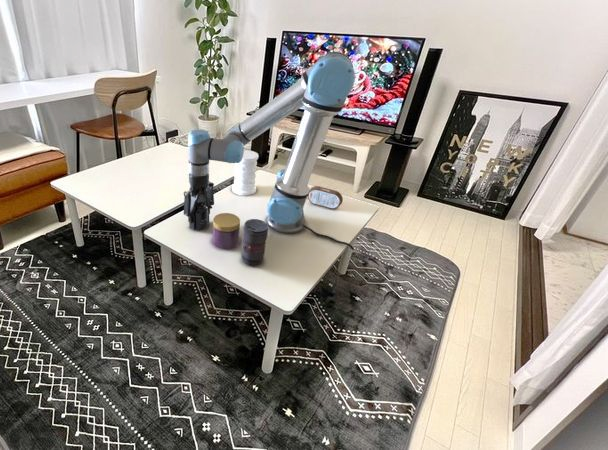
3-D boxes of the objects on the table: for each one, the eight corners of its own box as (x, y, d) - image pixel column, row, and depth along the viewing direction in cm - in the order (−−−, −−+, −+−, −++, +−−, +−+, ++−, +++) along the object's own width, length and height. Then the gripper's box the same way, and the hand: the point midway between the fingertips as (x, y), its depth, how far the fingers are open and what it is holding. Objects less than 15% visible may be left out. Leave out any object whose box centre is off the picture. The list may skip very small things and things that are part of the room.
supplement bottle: (205, 231, 135) (206, 205, 128) (189, 229, 136) (188, 203, 129) (209, 222, 140) (209, 196, 134) (193, 220, 142) (192, 194, 135)
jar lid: (242, 219, 128) (242, 215, 127) (236, 234, 120) (236, 229, 119) (217, 215, 130) (217, 211, 129) (209, 229, 122) (209, 224, 121)
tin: (340, 209, 150) (345, 192, 146) (338, 212, 148) (343, 194, 143) (307, 200, 157) (310, 183, 152) (305, 202, 155) (308, 186, 150)
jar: (241, 236, 132) (243, 216, 127) (235, 251, 124) (236, 230, 119) (216, 232, 135) (217, 212, 130) (209, 246, 127) (209, 226, 122)
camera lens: (258, 270, 115) (262, 234, 107) (236, 262, 119) (239, 226, 111) (267, 258, 121) (272, 222, 113) (247, 250, 124) (250, 215, 116)
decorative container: (230, 194, 161) (232, 158, 151) (233, 183, 171) (235, 149, 161) (255, 196, 160) (258, 160, 150) (256, 185, 169) (259, 150, 159)
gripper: (211, 162, 133) (210, 212, 146) (171, 177, 122) (174, 230, 134) (224, 168, 129) (223, 219, 141) (185, 184, 117) (187, 238, 130)
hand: (199, 224), depth 138 cm, fingers closed on supplement bottle, 7 cm apart
